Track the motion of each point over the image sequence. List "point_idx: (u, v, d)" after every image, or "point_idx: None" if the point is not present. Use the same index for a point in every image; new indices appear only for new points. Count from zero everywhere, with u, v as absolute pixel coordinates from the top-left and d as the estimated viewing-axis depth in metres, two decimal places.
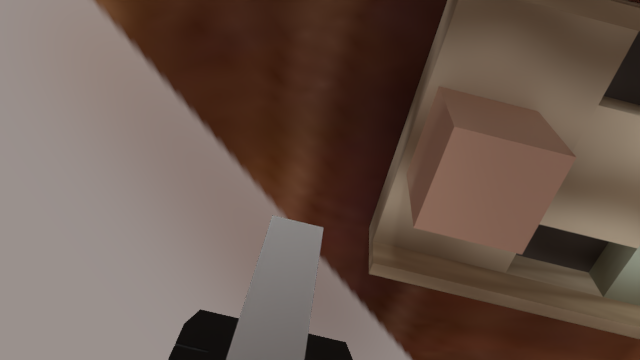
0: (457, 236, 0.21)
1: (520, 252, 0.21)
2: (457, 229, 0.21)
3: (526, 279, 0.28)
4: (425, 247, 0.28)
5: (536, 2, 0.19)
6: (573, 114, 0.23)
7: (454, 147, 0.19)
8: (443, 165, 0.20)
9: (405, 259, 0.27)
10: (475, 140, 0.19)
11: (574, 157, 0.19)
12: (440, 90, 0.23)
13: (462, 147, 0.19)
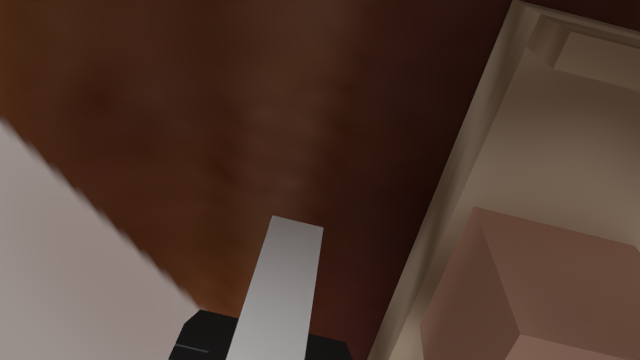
0: None
1: None
2: None
3: None
4: None
5: None
6: None
7: None
8: None
9: None
10: (559, 357, 0.10)
11: None
12: (478, 217, 0.14)
13: None
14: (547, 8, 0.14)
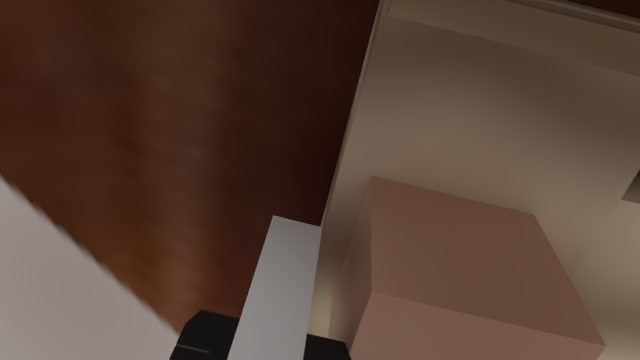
0: None
1: None
2: None
3: None
4: None
5: (507, 41, 0.10)
6: (579, 213, 0.14)
7: (376, 324, 0.10)
8: (358, 350, 0.11)
9: None
10: (413, 315, 0.10)
11: (602, 346, 0.10)
12: (371, 185, 0.14)
13: (391, 325, 0.10)
14: None
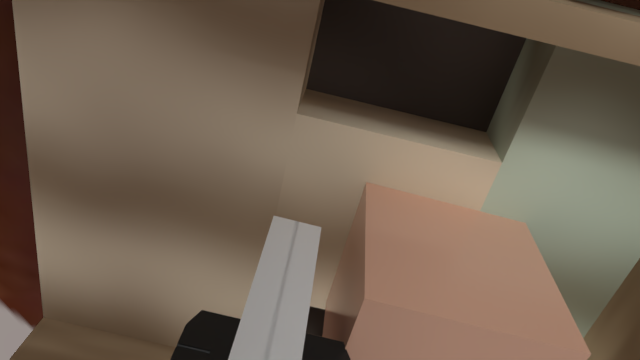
0: None
1: None
2: None
3: None
4: (119, 326, 0.19)
5: None
6: (263, 129, 0.14)
7: (368, 329, 0.11)
8: (350, 354, 0.11)
9: (77, 348, 0.18)
10: (405, 321, 0.10)
11: (587, 354, 0.10)
12: (366, 192, 0.14)
13: (383, 330, 0.10)
14: None
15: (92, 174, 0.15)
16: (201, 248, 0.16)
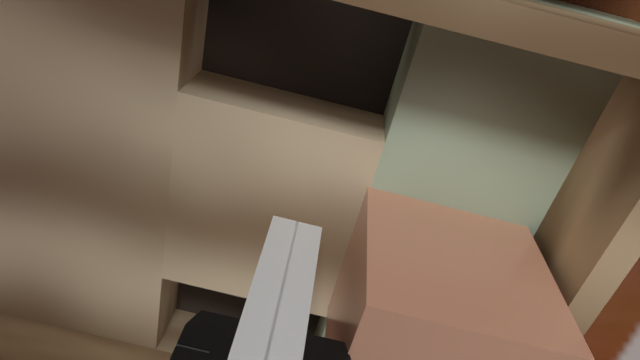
0: None
1: None
2: None
3: None
4: (27, 311, 0.18)
5: None
6: (145, 107, 0.14)
7: (370, 336, 0.10)
8: None
9: None
10: (407, 328, 0.10)
11: None
12: (368, 197, 0.14)
13: (385, 337, 0.10)
14: None
15: None
16: (99, 230, 0.16)
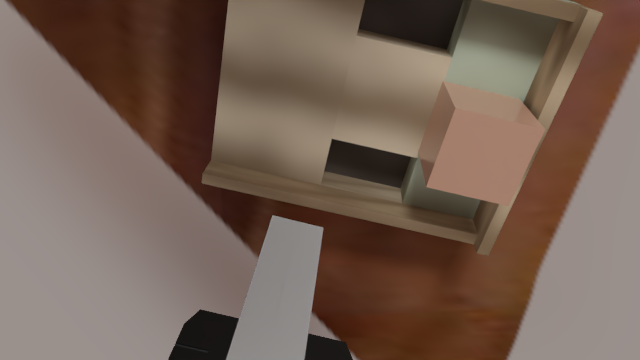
0: (459, 193, 0.28)
1: (507, 204, 0.28)
2: (459, 187, 0.28)
3: (337, 189, 0.34)
4: (253, 164, 0.34)
5: None
6: (340, 44, 0.30)
7: (456, 123, 0.26)
8: (447, 137, 0.27)
9: (233, 172, 0.34)
10: (471, 118, 0.26)
11: (543, 129, 0.26)
12: (444, 83, 0.30)
13: (462, 123, 0.26)
14: None
15: (252, 71, 0.31)
16: (304, 111, 0.32)
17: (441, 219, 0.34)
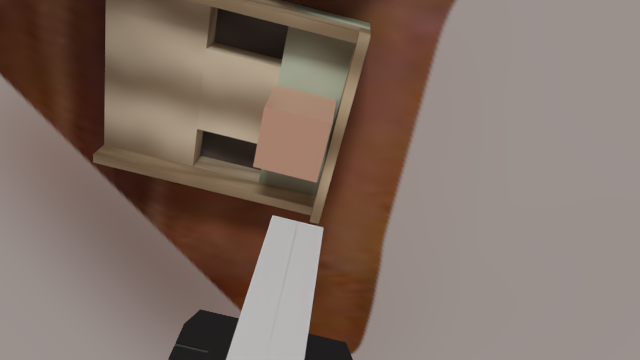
0: (278, 171, 0.37)
1: (315, 181, 0.37)
2: (277, 167, 0.37)
3: (206, 170, 0.43)
4: (137, 148, 0.43)
5: None
6: (194, 54, 0.38)
7: (266, 118, 0.35)
8: (262, 128, 0.35)
9: (120, 154, 0.42)
10: (277, 114, 0.35)
11: (331, 123, 0.35)
12: (275, 87, 0.38)
13: (271, 118, 0.35)
14: None
15: (129, 74, 0.39)
16: (173, 107, 0.40)
17: (286, 195, 0.42)
